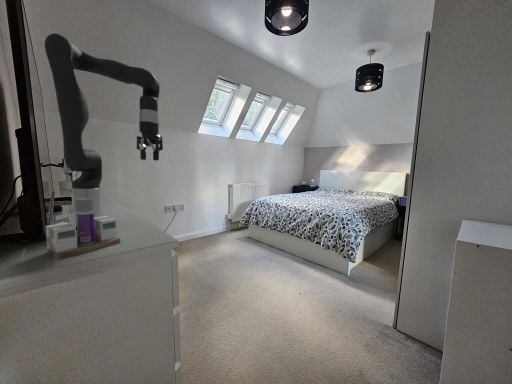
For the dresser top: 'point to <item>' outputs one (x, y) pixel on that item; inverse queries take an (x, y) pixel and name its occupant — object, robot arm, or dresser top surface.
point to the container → (85, 221)
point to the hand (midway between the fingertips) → (149, 160)
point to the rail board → (65, 237)
